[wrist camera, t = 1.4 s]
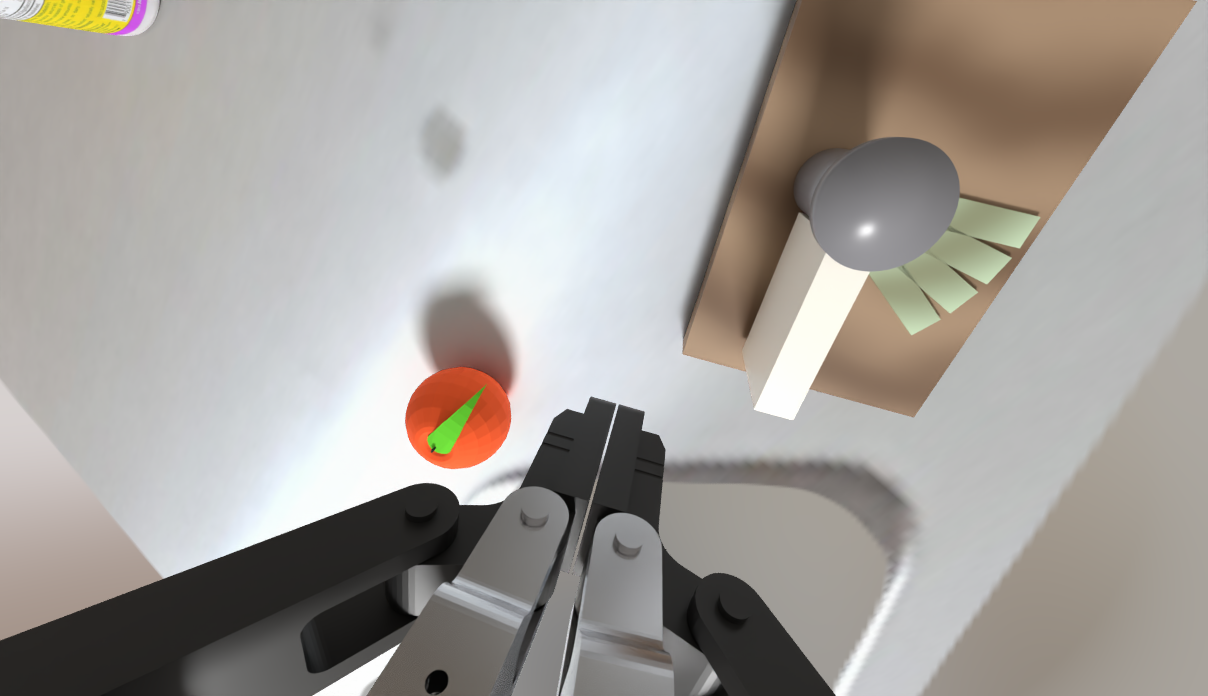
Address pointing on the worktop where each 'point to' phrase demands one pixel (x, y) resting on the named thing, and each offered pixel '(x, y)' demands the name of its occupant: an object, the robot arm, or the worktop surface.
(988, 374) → the worktop surface
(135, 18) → the supplement bottle
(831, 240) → the knob
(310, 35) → the worktop surface
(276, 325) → the worktop surface
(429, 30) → the worktop surface
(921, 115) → the board
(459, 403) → the clementine
